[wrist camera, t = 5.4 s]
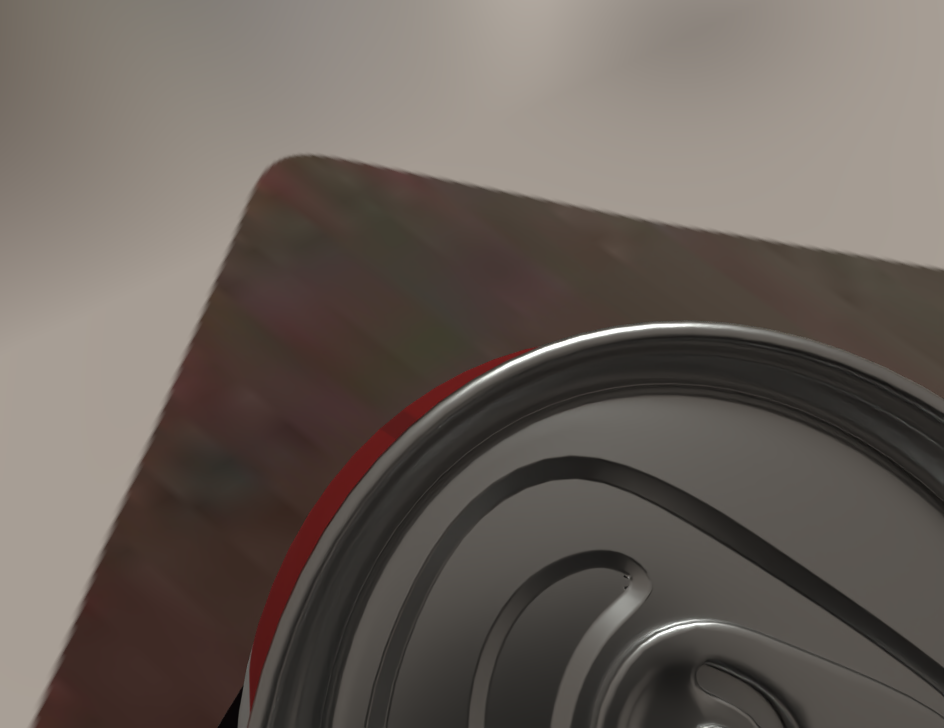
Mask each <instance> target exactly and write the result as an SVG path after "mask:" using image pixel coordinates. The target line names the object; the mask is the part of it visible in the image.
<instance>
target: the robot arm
mask: <svg viewBox="0 0 944 728" xmlns="http://www.w3.org/2000/svg"><path fill="white" fill-rule="evenodd" d="M243 687H244V685H243ZM243 687H242V688H241V690H240V691H239V693H238V695H237V696H236V698H235V700H234V701H233V703H232V704H231V706H230V708H229V709H228V711H227V713H226V714H225V716H224V718H223V719H222V721H221V722H220V724H219V726H218V727H217V728H238V718H239V710H240V704H241V698H242V693H243Z"/></svg>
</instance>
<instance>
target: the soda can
mask: <svg viewBox="0 0 944 728" xmlns="http://www.w3.org/2000/svg"><path fill="white" fill-rule="evenodd" d="M238 728H944V399H943V398H941V397H939V396H938V395H936V394H934V393H933V392H931V391H929V390H928V389H926V388H924V387H923V386H921V385H919V384H917V383H915V382H913V381H911V380H909V379H907V378H905V377H903V376H901V375H899V374H897V373H895V372H893V371H891V370H889V369H887V368H885V367H883V366H881V365H879V364H876V363H874V362H871V361H869V360H867V359H864V358H862V357H859V356H857V355H855V354H852V353H850V352H847V351H845V350H842V349H839V348H836V347H833V346H830V345H826V344H823V343H820V342H817V341H814V340H811V339H808V338H805V337H800V336H796V335H792V334H788V333H783V332H779V331H775V330H771V329H766V328H759V327H753V326H746V325H739V324H732V323H722V322H706V321H657V322H645V323H637V324H628V325H620V326H613V327H608V328H604V329H599V330H595V331H590V332H585V333H581V334H577V335H573V336H570V337H567V338H564V339H561V340H558V341H555V342H552V343H548V344H545V345H542V346H539V347H535V348H530V349H525V350H522V351H519V352H516V353H513V354H509V355H506V356H503V357H500V358H497V359H494V360H491V361H489V362H487V363H484V364H482V365H480V366H477V367H475V368H473V369H470V370H468V371H466V372H463V373H462V374H460V375H458V376H456V377H454V378H452V379H451V380H449V381H447V382H445V383H443V384H441V385H439V386H438V387H436V388H434V389H433V390H431V391H430V392H428V393H427V394H425V395H424V396H422V397H421V398H419V399H418V400H416V401H415V402H413V403H412V404H410V405H409V406H407V407H406V408H405V409H404V410H402V411H401V412H400V413H399V414H397V415H396V416H395V417H394V418H393V419H391V420H390V421H389V422H388V423H386V424H385V425H384V426H383V427H382V428H380V429H379V430H378V431H377V432H376V433H375V434H374V435H373V436H372V437H371V438H370V439H369V440H368V441H367V442H366V443H365V444H364V445H363V446H362V447H361V448H360V449H359V450H358V451H357V452H356V453H355V454H354V455H353V456H352V458H351V459H350V460H349V461H348V462H347V464H346V465H345V466H344V467H343V468H342V469H341V471H340V472H339V473H338V474H337V475H336V477H335V478H334V479H333V480H332V481H331V483H330V484H329V486H328V487H327V488H326V490H325V491H324V493H323V494H322V496H321V497H320V498H319V500H318V501H317V503H316V504H315V506H314V507H313V509H312V510H311V511H310V513H309V514H308V516H307V518H306V520H305V521H304V523H303V525H302V527H301V528H300V530H299V532H298V534H297V535H296V537H295V539H294V541H293V542H292V544H291V546H290V548H289V550H288V552H287V554H286V556H285V559H284V561H283V563H282V565H281V567H280V570H279V572H278V574H277V576H276V578H275V580H274V583H273V585H272V588H271V590H270V593H269V596H268V599H267V602H266V604H265V607H264V610H263V613H262V616H261V618H260V621H259V624H258V627H257V631H256V635H255V639H254V643H253V646H252V650H251V654H250V658H249V661H248V665H247V670H246V675H245V681H244V687H243V693H242V698H241V704H240V710H239V718H238Z"/></svg>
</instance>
